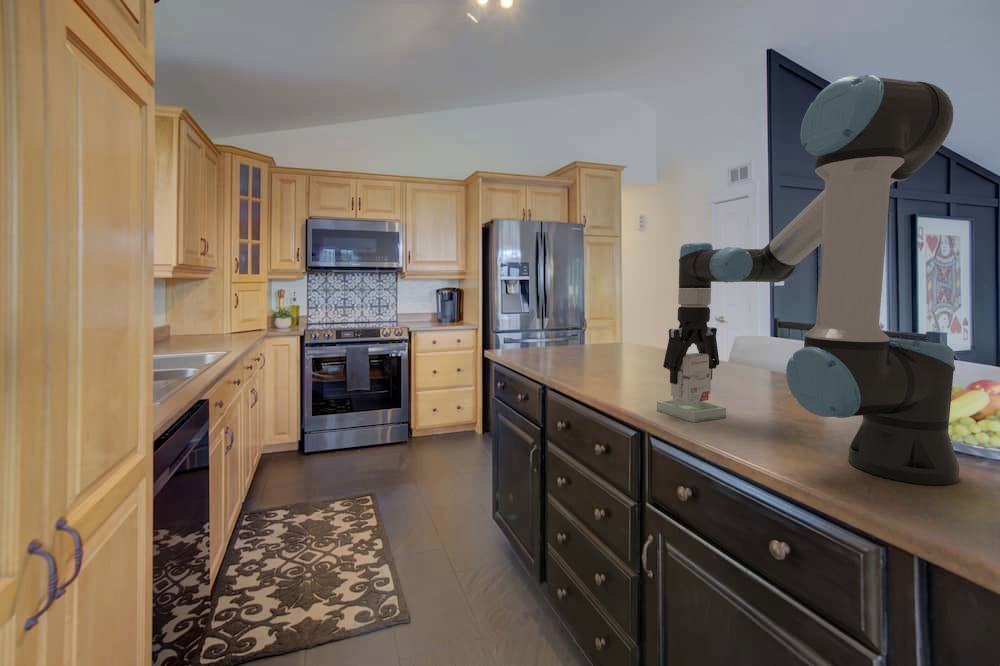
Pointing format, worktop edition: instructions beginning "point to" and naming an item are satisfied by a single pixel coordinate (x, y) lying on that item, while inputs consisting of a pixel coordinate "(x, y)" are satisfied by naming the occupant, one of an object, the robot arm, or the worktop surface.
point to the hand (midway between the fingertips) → (690, 394)
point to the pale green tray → (692, 410)
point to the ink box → (694, 378)
